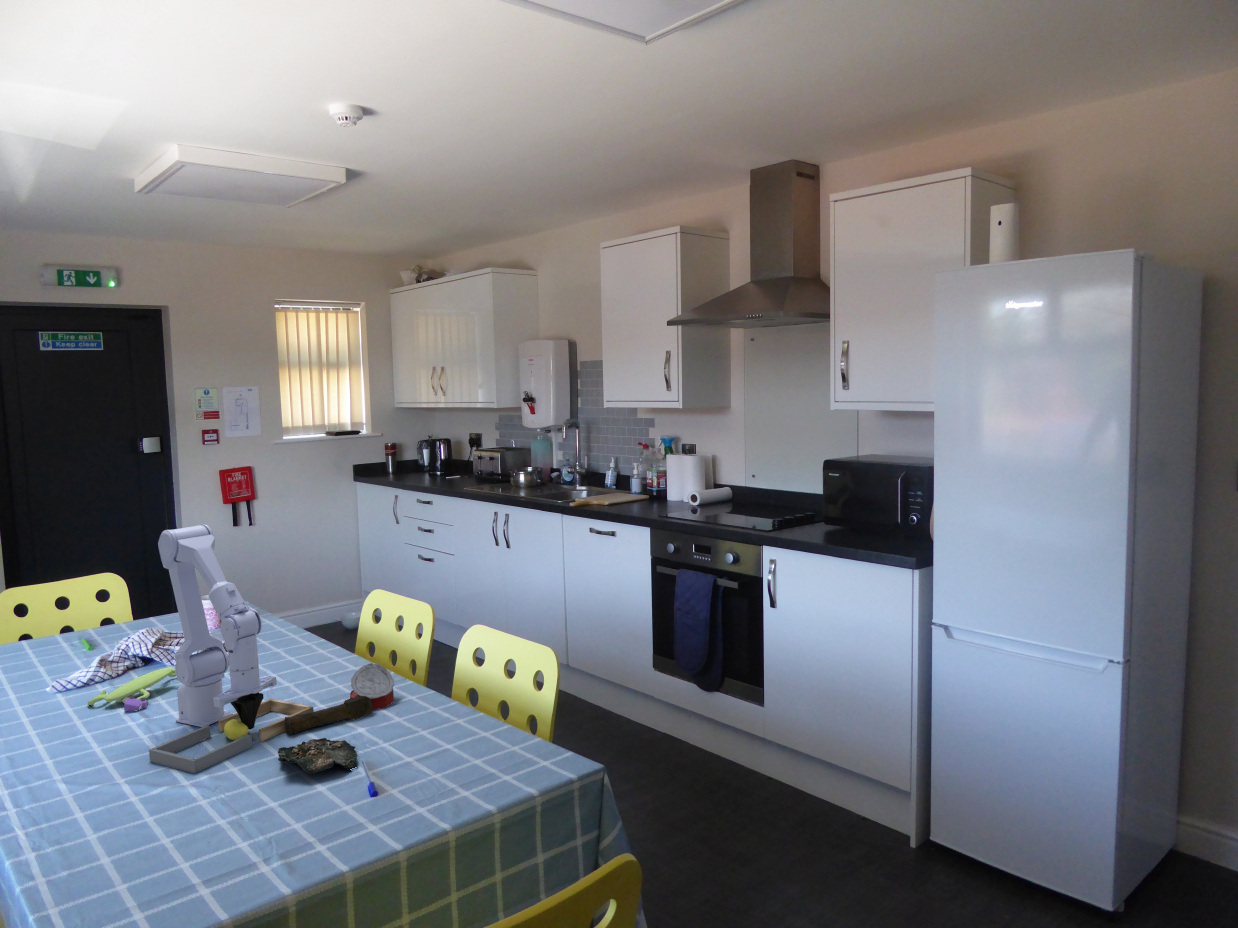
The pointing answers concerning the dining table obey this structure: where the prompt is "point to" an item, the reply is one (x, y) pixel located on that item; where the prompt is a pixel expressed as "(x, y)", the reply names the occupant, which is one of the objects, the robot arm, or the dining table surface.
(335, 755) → the decorative rock
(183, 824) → the dining table surface
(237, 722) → the lemon
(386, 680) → the canned food
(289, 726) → the hand tool
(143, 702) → the figurine
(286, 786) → the dining table surface
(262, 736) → the oak frame
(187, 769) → the grey frame
